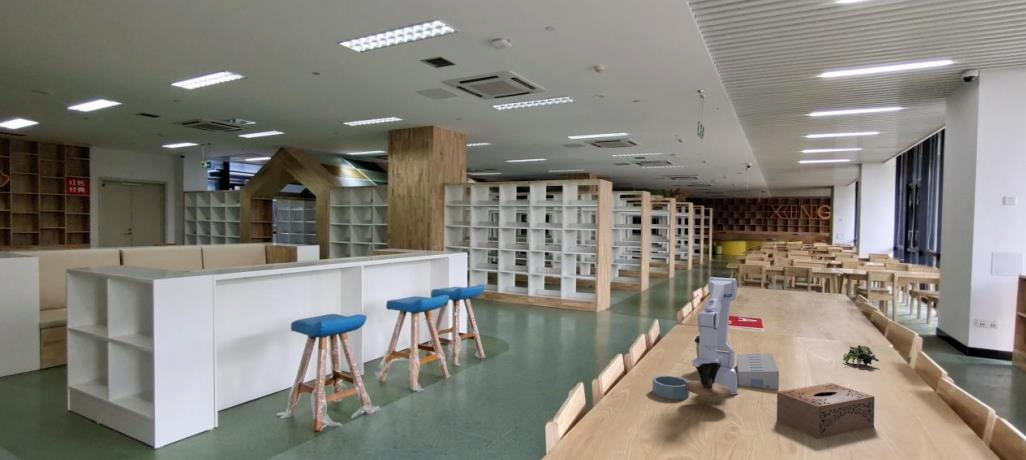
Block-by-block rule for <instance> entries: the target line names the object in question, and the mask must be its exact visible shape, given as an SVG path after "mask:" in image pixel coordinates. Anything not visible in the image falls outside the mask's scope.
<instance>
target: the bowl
mask: <svg viewBox="0 0 1026 460" xmlns="http://www.w3.org/2000/svg"><path fill="white" fill-rule="evenodd" d="M687 382H689V381H688V379H685V378H683V377H679V376H672V375H659V376H654V377H653V379H652V393H653V395H655V396H657V397H658V396H659V398H662V399H665V400H675V401H676V400H679V401H680V400H685V399H688V398H689V396H690V391H688V390H687V389H686V388H685V384H686V383H687Z"/></svg>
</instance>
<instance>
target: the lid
mask: <svg viewBox="0 0 1026 460" xmlns="http://www.w3.org/2000/svg"><path fill="white" fill-rule="evenodd" d="M685 388H686V389H687V390H688V391H689V393H692V394H696V395H699V396H704V397H711V398H712V397H713V398H720V397H721V398H723V397H727V396H730V395H732V394H731V389H730V388H729V387H727V386H725V385H723V384H720V383H716V382H714V384H712V378H709V379H708V385H703V384H701V380H690V381H688V382H687V383H686V384H685Z"/></svg>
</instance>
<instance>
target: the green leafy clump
mask: <svg viewBox="0 0 1026 460" xmlns="http://www.w3.org/2000/svg"><path fill="white" fill-rule="evenodd" d="M848 350H849V351H848V353H844V355H843V358H842V361H844V362H845V363H846V362H847V363H848V362H849V361H850V360H851V362H852V364H855V361H856V363H857V365H856V366H855V367H856V368H857V367H858V366H859V365H860V364H861V363H862V362H863V365H866V366H867V365H872V361H875V362H879V361H880V359H878V358H876V355H875V354H873V353H874V351H872V350H871V349H870V347H869V346H866V345H860V344H859V345H857V346H855V347H854V346H851V345H850V346H849V349H848Z"/></svg>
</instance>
